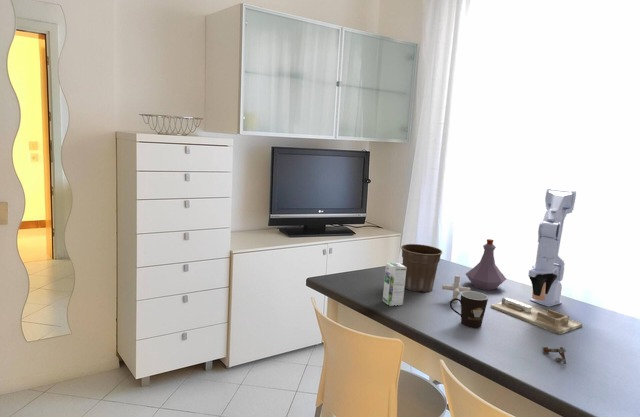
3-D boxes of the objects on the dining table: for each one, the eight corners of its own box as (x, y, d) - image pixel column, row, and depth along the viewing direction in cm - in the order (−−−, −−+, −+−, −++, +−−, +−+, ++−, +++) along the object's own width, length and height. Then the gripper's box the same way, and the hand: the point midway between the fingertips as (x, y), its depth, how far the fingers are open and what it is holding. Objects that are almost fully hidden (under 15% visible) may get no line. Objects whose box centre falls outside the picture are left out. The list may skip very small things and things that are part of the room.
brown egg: (537, 296, 168) (538, 279, 167) (547, 299, 164) (548, 282, 163) (529, 297, 166) (530, 281, 165) (539, 300, 162) (541, 283, 161)
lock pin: (504, 302, 176) (505, 297, 175) (531, 312, 167) (531, 306, 167) (501, 303, 175) (502, 297, 174) (527, 313, 166) (528, 307, 166)
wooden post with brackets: (565, 364, 129) (562, 347, 130) (544, 362, 137) (541, 346, 138) (570, 364, 130) (567, 347, 131) (549, 362, 137) (547, 346, 138)
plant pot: (443, 287, 193) (447, 248, 190) (430, 297, 180) (434, 256, 177) (406, 278, 202) (410, 241, 199) (391, 287, 188) (394, 248, 185)
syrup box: (381, 300, 173) (385, 262, 170) (396, 299, 175) (399, 262, 172) (388, 306, 167) (392, 267, 165) (403, 305, 169) (407, 266, 167)
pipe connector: (469, 308, 171) (472, 281, 169) (441, 304, 173) (444, 278, 171) (467, 298, 180) (469, 273, 179) (440, 295, 182) (443, 270, 181)
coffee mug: (484, 321, 158) (488, 293, 157) (484, 331, 150) (488, 301, 149) (449, 315, 162) (452, 287, 160) (447, 324, 154) (450, 295, 152)
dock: (513, 301, 181) (514, 292, 180) (581, 326, 159) (583, 316, 159) (490, 307, 173) (491, 298, 172) (559, 334, 152) (560, 324, 151)
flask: (482, 278, 208) (487, 234, 205) (514, 290, 195) (520, 243, 191) (455, 282, 200) (461, 236, 197) (487, 295, 186) (493, 246, 183)
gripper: (546, 251, 169) (541, 288, 171) (522, 255, 161) (517, 293, 163) (566, 256, 163) (560, 294, 166) (541, 260, 155) (536, 299, 158)
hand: (540, 294), depth 164 cm, fingers closed on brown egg, 4 cm apart
